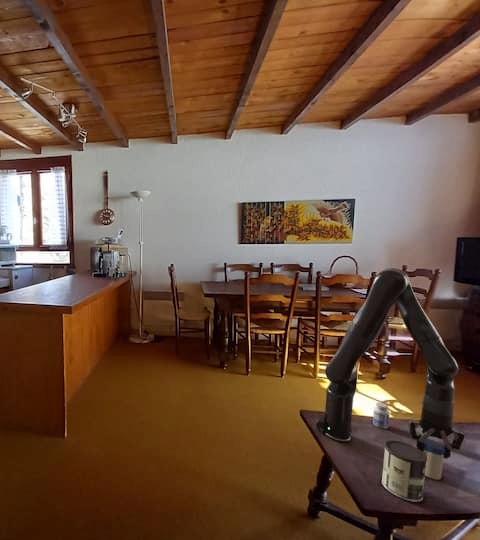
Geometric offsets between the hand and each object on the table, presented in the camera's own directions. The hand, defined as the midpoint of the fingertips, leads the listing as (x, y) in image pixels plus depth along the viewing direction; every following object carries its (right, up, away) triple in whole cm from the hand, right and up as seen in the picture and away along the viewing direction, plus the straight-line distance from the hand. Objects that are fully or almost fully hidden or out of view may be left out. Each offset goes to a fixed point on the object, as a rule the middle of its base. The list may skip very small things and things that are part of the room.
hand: (432, 453), depth 108 cm
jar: (0, -8, +1) cm, 8 cm away
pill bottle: (+7, -5, +29) cm, 30 cm away
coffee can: (-17, -8, -6) cm, 20 cm away
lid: (0, +3, 0) cm, 3 cm away
